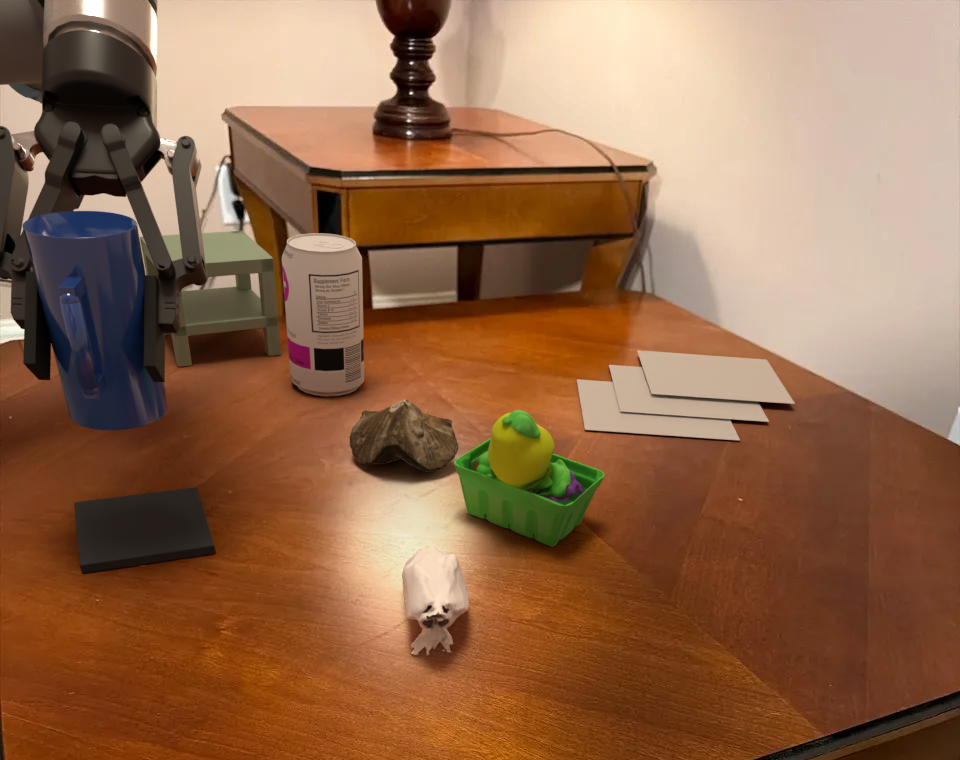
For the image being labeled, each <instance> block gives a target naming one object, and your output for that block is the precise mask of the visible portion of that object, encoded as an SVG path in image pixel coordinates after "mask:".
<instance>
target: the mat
mask: <svg viewBox="0 0 960 760" xmlns="http://www.w3.org/2000/svg"><path fill="white" fill-rule="evenodd" d="M73 504H74V515H75V526H76V536H77V548H78V558H79V568H80V571H81V573H82V574H88V573H94V572H102V571H108V570H115V569H121V568H128V567H134V566H140V565H141V566H142V565H149V564H154V563H160V562H167V561H168V562H169V561H175V560H180V559H188V558H193V557H200V556H207V555H213V554H216V546H215V543H214V539H213V536H212V533H211V530H210V527H209V526H210V525H209V523H208V520H207V517H206V513H205V510H204V507H203V503H202V499H201V497H200V494H199V490H198V487H197V486H193V487H185V488H179V489H178V488H176V489H170V490H161V491H160V490H159V491H153V492H146V493H145V492H143V493H137V494H127V495H122V496H121V495H120V496H114V497H113V496H112V497H104V498H96V499H89V500H80V501H74V503H73Z"/></svg>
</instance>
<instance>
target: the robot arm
mask: <svg viewBox="0 0 960 760" xmlns="http://www.w3.org/2000/svg"><path fill="white" fill-rule="evenodd" d="M158 30H159V29H158V0H0V86H4V85H8V86H9V88H11V89H12V90H13V91H14V92H15V93H18V94H19V95H20V96H23V97H24V98H26V99H30V100H33V101H35V102H37V103H39V104H41V116H40V117H39V119H38V121H37V122H36V123H35V125H34V128H33V130H31V131H25V132H18V133H11V132H10V130H9V128H7V127H6V126H4V125H0V279H1V280H10V281H11V284H10V285H11V286H10V314H11V317H12V319H13V321H14V322H15V323H16V324H17V326H18V327H19V328H20V329H21V330H24V331H23V361H22V362H23V365H24V366H25V368H27V369H28V370H29V371H30V373H31V374H33V376H34V377H35V378H36V379H37V380H38V381H51V366H52V365H51V363H52V362H51V361H52V344H51V340H50V336H49V332H48V328H47V324H46V320H45V316H44V312H43V308H42V304H41V299H40V295H39V291H38V287H37V283H36V279H35V275H34V271H33V267H32V263H31V259H30V255H29V251H28V247H27V243H26V239H25V235H24V231H23V227H22V226H23V223H24V218H25V217H24V216H25V210H26V203H27V198H28V193H29V192H28V191H29V185H30V184H29V173H30V172H33V171H34V169H35V167H34V165H35V160H36V156H37V155H39V154H42V153H43V154H44V156H45V157H46V158H47V160H48V161H49V162H48V163H47V166H46V168H45V171H44V183H43V185H42V188H41V189H40V192H39V194H38V196H37V199H36V201H35V203H34V205H33V207H32V209H31V211H30V214H29V216H28V218H27V220H29V219H31V218H33V217H36V216H40V215H44V214H50V213H57V212H67V211H75V210H78V209H79V208H80V206H81V204H82V203H83V199H84V197H85V196H97V195H102V194H104V195H109V196H111V197H119V198H127V200H128V203H129V206H130V207H131V210H132V213H133V216H134V217H135V218H134V219H135V221H136V223H137V226H138V229H139V230H140V233H141V236H142V237H143V238H144V240H145V243H146V245H147V248H148V250H149V253H150V255H151V258H152V260H153V263H154V266H155V268H156V270H157V272H158V279H157V277H156V275H145V288H144V367H145V369H146V370H147V372H148V374H149V375H150V377H151V378H152V380H153V382H164V383H165V382H166V335H165V333H177V332H178V329H179V327H180V293H181V291H183V290H184V289H185V288H186V287H188V286H192V285H195V286H199V287H201V286H204V285H205V284H206V283H207V281H208V277H207V272H206V264H205V256H204V248H203V240H202V233H203V232H202V225H201V218H200V209H199V203H198V196H197V185H198V182H199V178H200V175H201V171H202V162H201V159H200V156H199V151H198V150H197V146H196V143H195V141H194V138H192V137H191V136H189V135H182V136H180V137H179V138H178V139H177V141H175V140H172V139H168V138H163V137H161V135H160V133H159V131H158V129H157V128H158V125H157V124H158V81H157V71H158ZM161 160H163V161H164V163H165V166H166V169H167V171H168V173H169V174H170V175H171V177H172V185H173V193H174V201H175V208H176V209H175V210H176V216H177V225H178V231H179V233H178V234H180V241H181V249H182V257H183V258H182V259H178V260H175V261H172V259H171V257H170V254H169V252H168V249H167V247H166V244H165V242H164V239H163V237H162V235H163V234H162V232H161V230H160V229H161V228H160V227H159V224H158V222H157V219H156V216H155V214H154V211H153V209H152V207H151V204H150V202H149V199H148V196H147V194H146V191H145V189H144V186H143V183H142V182H144V180H145V179H146V178H147V176H148V175H149V174H150V172H152V171H153V169H154V168H155V167H156V166H157V164H159V162H160V161H161Z"/></svg>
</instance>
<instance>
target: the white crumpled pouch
mask: <svg viewBox="0 0 960 760" xmlns="http://www.w3.org/2000/svg"><path fill="white" fill-rule="evenodd" d="M401 579H402V590H403V591H402V592H403V596H404V603H405V615H406V617H405V618H406V619H407V620H410V621H417V623H418V625H419V627H420V628H421V629H422V630H421V632H420V633H419V634H418V635H417V637H416V638H415V640H414V641H413V642H412V643H411V644H410V648H411V649H412V648H413V650H411V652H410V653H411V655H412V654H413V653H416V655H418V656H419V652H420V651H421V650H423V649H424V650H425V652H426V654H429V655H430V651H431V649H433V650H435V649H436V648H437V646H438V644H439V643H440V644H441V645H442V647H443V649H442V652H445V651H446V652H447V653H451V654H453V651H451V648H450V647H451V645H453V644H454V642H453V638H452V637H453V636H452V635H451V634H450V632H449V631H448V628H450V627H452V625H453V624H454V622H455V621H456V620H457V618H459V617H460V616H461V615H463V614H464V613H466V612H467V611H468V610H469V607H470V602H469V601H470V593H469V589H468V584H467V582H466V578H465V575H464V572H463V570H462V566H461V564H460V561H459V558H458V556H457V555H456V554H455V553H454V554H453V553H449V552H447V551H444V550H442V549H439V548H438V547H433V546H430V545H425V546H422V547H421V548H420V549H418V550H416V551H415V553H414V554H413V555H412V556H411V557H410V558H409V559H407V561H405V562H404V566H403V569H402V572H401Z"/></svg>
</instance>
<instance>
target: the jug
mask: <svg viewBox="0 0 960 760" xmlns="http://www.w3.org/2000/svg"><path fill="white" fill-rule="evenodd" d="M22 231H24V235H25V239H26V243H27V247H28V251H29V255H30V259H31V263H32V267H33V271H34V275H35V279H36V283H37V287H38V291H39V295H40V299H41V304H42V308H43V312H44V316H45V320H46V324H47V328H48V332H49V336H50V340H51V349H52V352H53V356H54V359H55V363H56V368H57V372H58V376H59V381H60V385H61V389H62V392H63V396H64V400H65V405H66V408H67V413H68V416H69V418H70V421H72V422H73V423H75V424H76V425H78V426H80V427H83V428H86V429H90V430H96V431H125V430H131V429H132V430H133V429H136V428H142V427H146V426H147V425H150V424H153V423H155V422H158V421H159V420H160V419H162V418H163V417H164V416H165V415H166V414H167V413H168V411H169V403H168V397H167V391H166V384H165V382H153V380H152V378H151V377H150V375H149V374H148V372H147V370H146V369H145V367H144V288H145V275H146V270H145V264H144V259H143V253H142V247H141V241H140V234H139V233H140V232H139V225H138V223H137V220H136V219H135V218H132V217H131V216H127V215H124V214H121V213H115V212H110V211H108V212H107V211H101V210H100V211H99V210H97V211H96V210H74V211H67V212H57V213H50V214H44V215H40V216H36V217H33V218H31V219H29V220H28V219H27V220H25V221H23V223H22Z"/></svg>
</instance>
